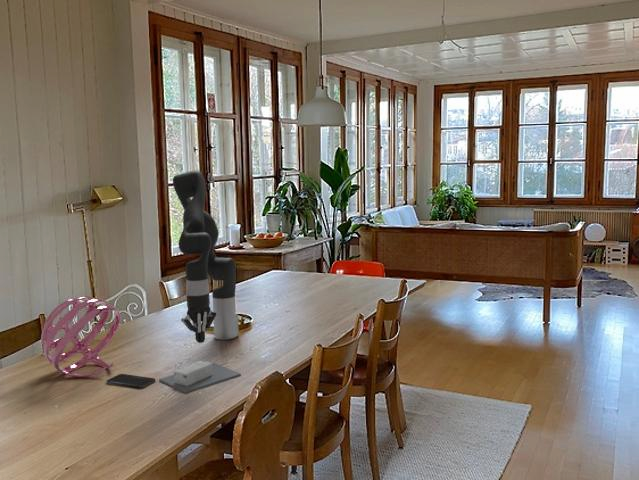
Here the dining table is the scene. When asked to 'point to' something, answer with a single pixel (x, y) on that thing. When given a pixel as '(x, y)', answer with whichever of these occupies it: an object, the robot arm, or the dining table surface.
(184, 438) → the dining table surface
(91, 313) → the spiral basket
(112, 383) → the phone
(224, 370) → the rubber mat
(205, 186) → the robot arm
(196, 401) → the dining table surface
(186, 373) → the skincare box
